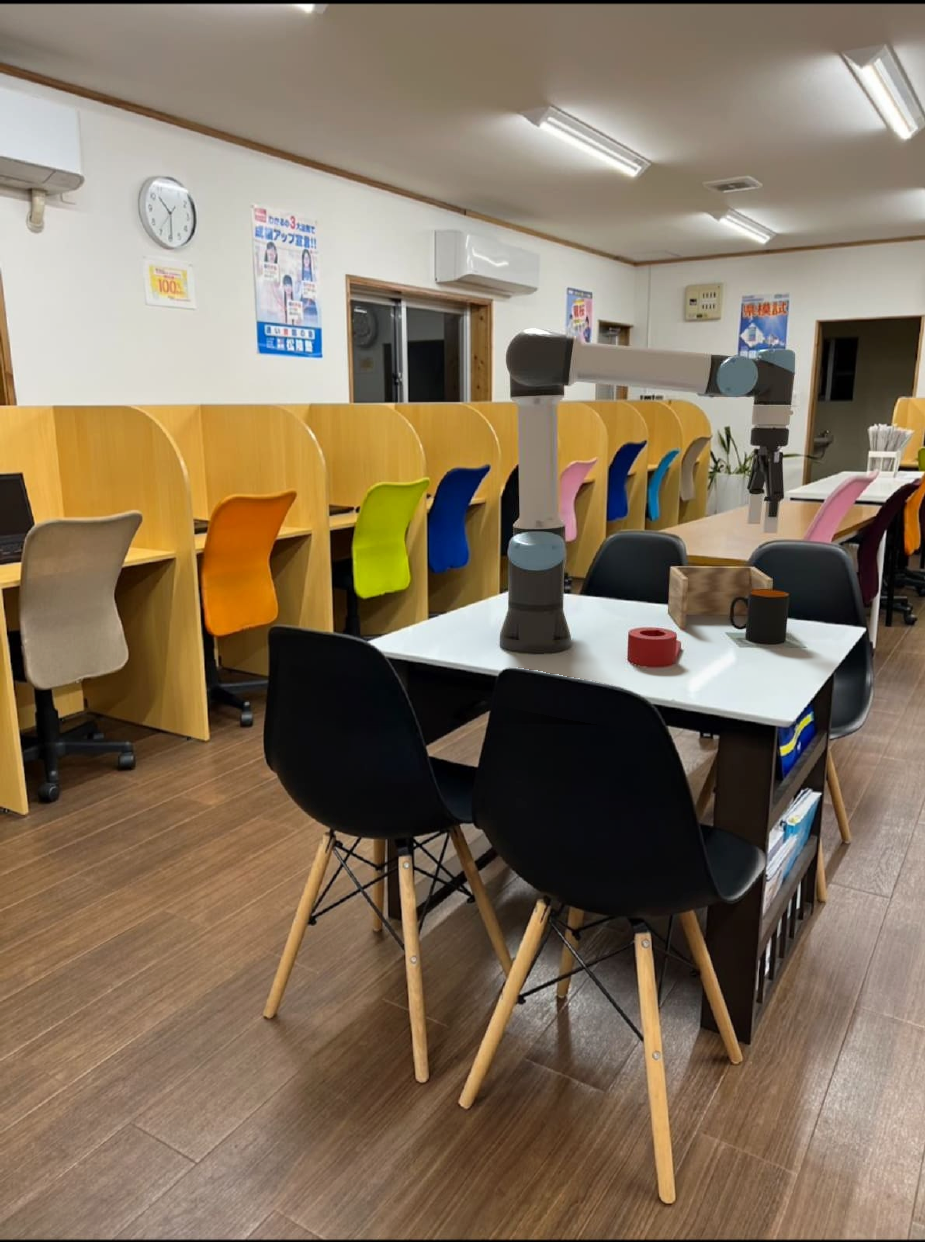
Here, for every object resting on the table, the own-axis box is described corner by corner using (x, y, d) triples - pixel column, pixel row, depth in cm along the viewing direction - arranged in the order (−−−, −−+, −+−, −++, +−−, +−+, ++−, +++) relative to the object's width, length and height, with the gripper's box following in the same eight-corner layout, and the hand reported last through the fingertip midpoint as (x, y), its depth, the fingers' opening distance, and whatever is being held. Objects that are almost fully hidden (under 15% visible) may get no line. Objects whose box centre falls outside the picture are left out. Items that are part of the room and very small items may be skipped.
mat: (739, 649, 188) (739, 646, 188) (725, 635, 199) (725, 632, 199) (806, 650, 187) (807, 647, 187) (789, 635, 199) (789, 632, 199)
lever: (664, 675, 171) (666, 641, 170) (619, 667, 176) (620, 635, 175) (696, 653, 186) (698, 622, 184) (653, 646, 191) (655, 616, 189)
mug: (732, 631, 200) (735, 586, 198) (788, 637, 195) (792, 591, 192) (724, 639, 193) (727, 593, 191) (781, 646, 188) (785, 598, 185)
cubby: (679, 630, 203) (682, 579, 200) (667, 614, 219) (670, 566, 216) (768, 631, 202) (773, 579, 199) (750, 614, 218) (753, 566, 215)
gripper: (807, 428, 173) (796, 537, 178) (772, 425, 197) (764, 520, 202) (767, 428, 174) (758, 536, 179) (738, 424, 198) (730, 520, 203)
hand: (761, 528), depth 190 cm, fingers open, 13 cm apart
